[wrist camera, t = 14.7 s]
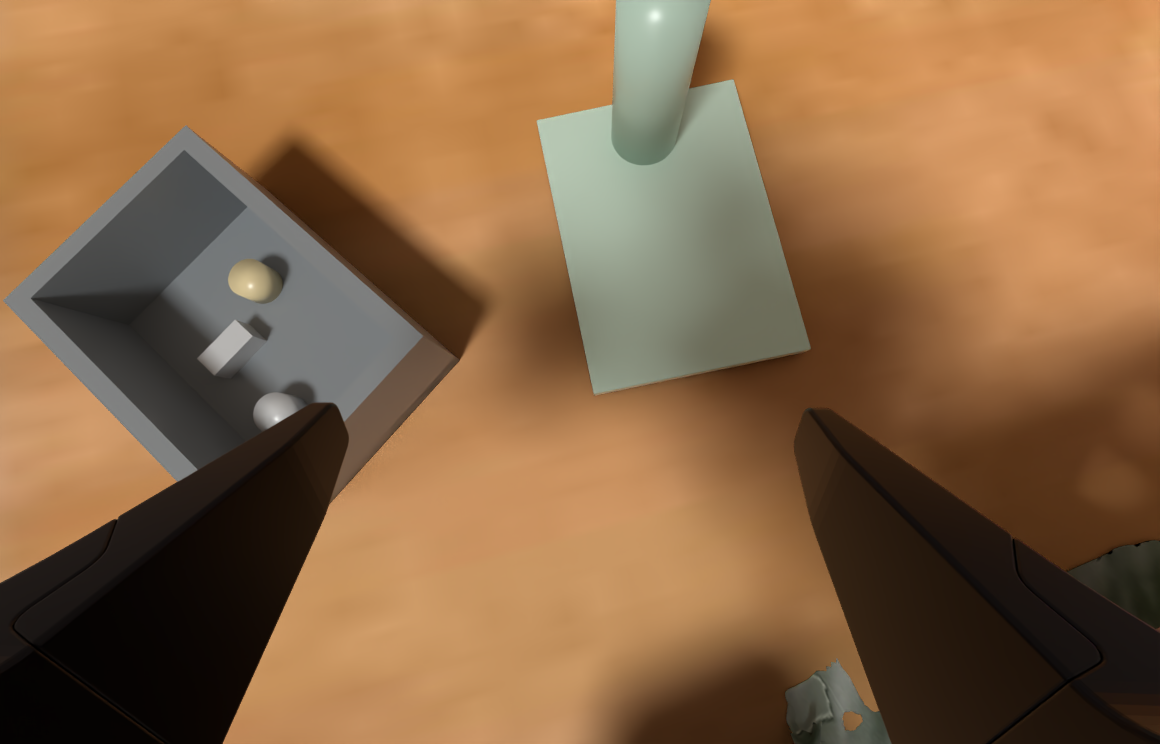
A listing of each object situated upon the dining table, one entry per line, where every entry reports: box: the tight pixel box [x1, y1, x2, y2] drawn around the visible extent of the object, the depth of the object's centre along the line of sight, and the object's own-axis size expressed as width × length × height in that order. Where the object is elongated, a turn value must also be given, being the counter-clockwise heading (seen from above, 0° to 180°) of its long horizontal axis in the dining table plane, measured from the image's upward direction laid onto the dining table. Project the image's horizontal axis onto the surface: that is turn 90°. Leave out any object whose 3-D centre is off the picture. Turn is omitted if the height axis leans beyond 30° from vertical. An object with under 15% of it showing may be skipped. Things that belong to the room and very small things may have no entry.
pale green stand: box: [537, 0, 811, 396], centre depth 20 cm, size 10×14×9 cm
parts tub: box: [3, 126, 459, 503], centre depth 22 cm, size 10×14×5 cm
